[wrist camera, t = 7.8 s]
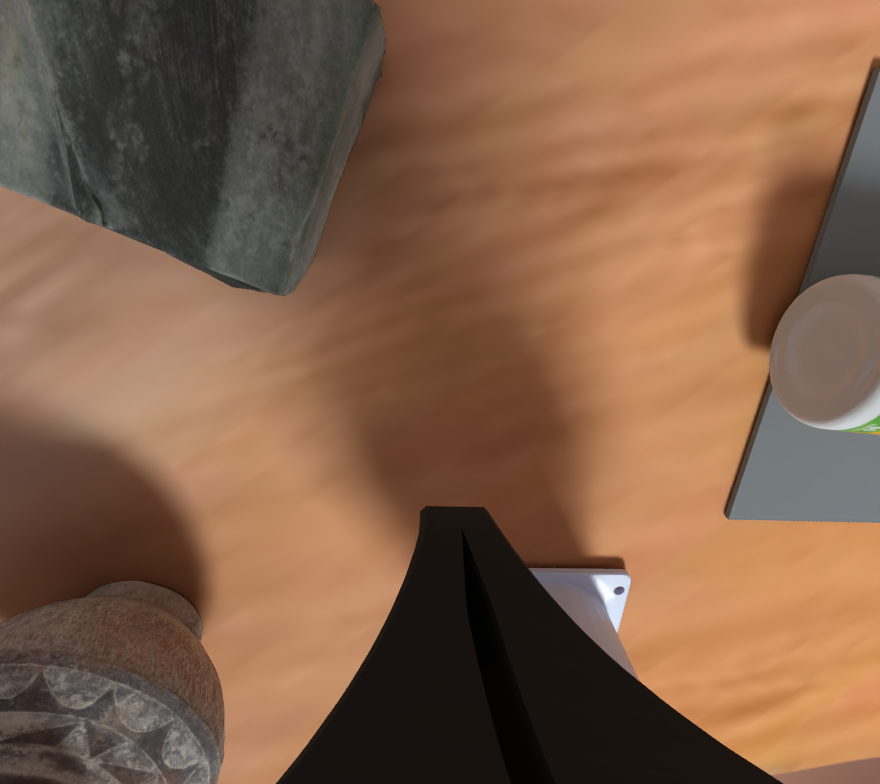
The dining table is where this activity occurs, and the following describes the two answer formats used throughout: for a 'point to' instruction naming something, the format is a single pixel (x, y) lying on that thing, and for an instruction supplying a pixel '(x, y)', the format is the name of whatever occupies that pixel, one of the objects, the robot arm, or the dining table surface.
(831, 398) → the supplement bottle
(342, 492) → the dining table surface
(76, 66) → the stone block
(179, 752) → the pottery
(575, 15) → the dining table surface
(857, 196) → the mat
